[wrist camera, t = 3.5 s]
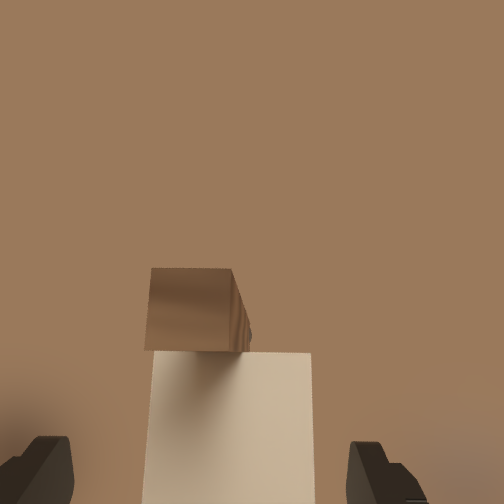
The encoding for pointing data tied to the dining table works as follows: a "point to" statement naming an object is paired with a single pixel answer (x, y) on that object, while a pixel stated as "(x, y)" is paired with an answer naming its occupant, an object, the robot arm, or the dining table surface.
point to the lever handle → (196, 311)
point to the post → (230, 429)
